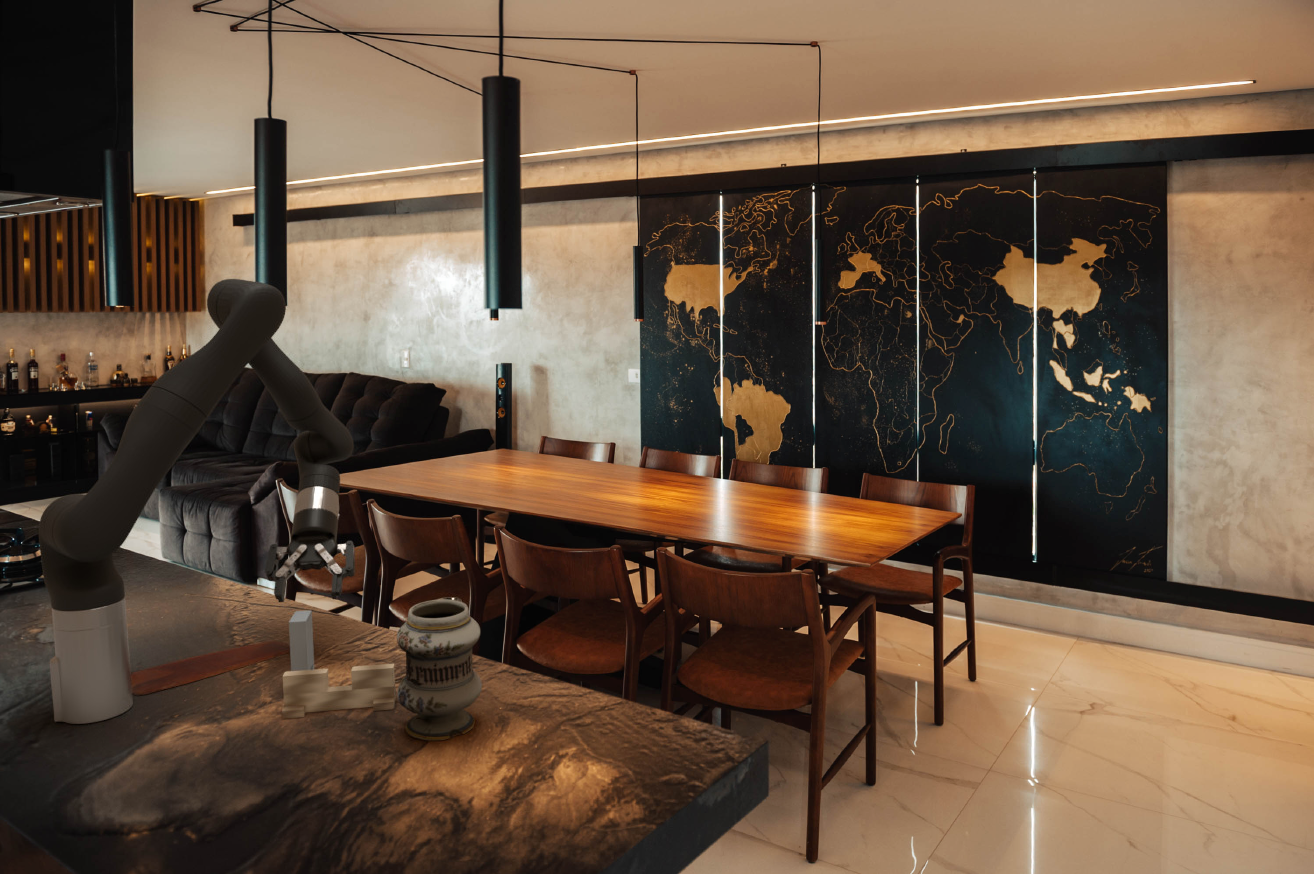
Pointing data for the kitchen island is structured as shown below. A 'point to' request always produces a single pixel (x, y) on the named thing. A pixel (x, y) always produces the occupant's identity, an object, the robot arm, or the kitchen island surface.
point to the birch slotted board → (338, 690)
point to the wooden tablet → (203, 666)
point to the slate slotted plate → (301, 641)
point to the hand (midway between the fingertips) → (307, 598)
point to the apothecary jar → (439, 669)
